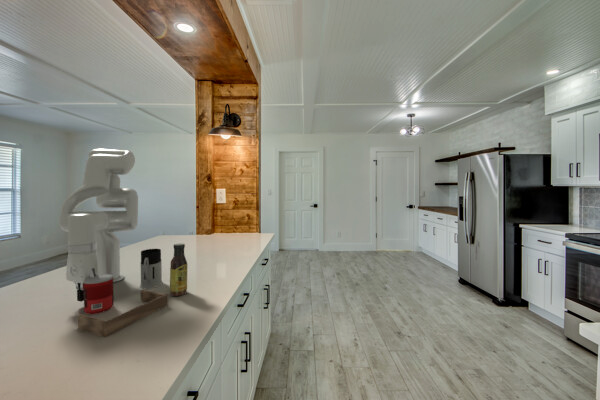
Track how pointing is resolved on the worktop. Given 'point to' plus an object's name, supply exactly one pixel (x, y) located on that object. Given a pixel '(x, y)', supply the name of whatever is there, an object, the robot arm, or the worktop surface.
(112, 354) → the worktop surface
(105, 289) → the canned food
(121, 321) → the wooden corner frame
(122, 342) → the worktop surface
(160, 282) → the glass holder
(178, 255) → the sauce bottle
